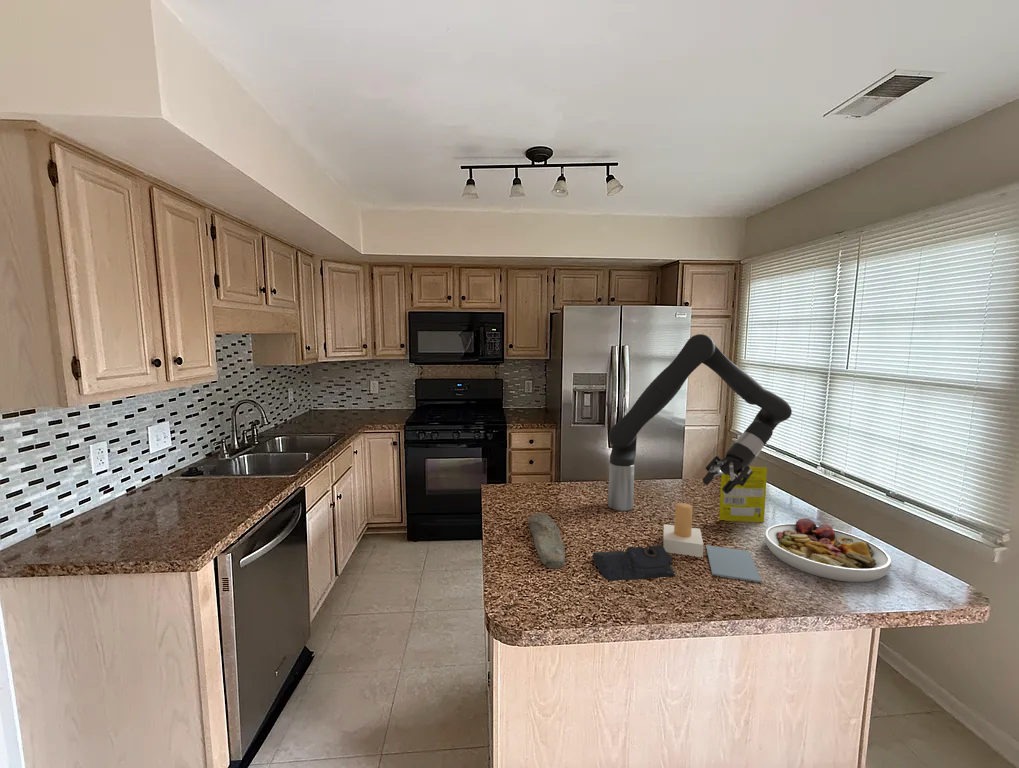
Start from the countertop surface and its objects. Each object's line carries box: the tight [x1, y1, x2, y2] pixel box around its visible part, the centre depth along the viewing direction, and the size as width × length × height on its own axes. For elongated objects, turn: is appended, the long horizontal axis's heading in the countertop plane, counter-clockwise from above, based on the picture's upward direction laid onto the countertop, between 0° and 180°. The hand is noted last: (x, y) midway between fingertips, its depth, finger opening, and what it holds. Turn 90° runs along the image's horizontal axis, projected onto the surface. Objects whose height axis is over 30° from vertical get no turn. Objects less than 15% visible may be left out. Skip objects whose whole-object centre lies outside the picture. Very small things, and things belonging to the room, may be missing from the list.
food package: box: [718, 466, 768, 523], centre depth 157 cm, size 15×1×20 cm, turn 84°
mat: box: [705, 544, 763, 584], centre depth 127 cm, size 12×18×1 cm, turn 161°
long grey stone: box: [528, 512, 566, 570], centre depth 141 cm, size 35×5×10 cm
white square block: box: [662, 523, 704, 558], centre depth 138 cm, size 11×12×4 cm
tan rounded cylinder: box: [673, 502, 693, 537], centre depth 137 cm, size 5×5×9 cm
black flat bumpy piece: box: [592, 544, 676, 582], centre depth 126 cm, size 15×22×5 cm
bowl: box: [764, 518, 892, 583], centre depth 130 cm, size 30×30×8 cm
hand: (714, 487), depth 140 cm, fingers open, 8 cm apart
